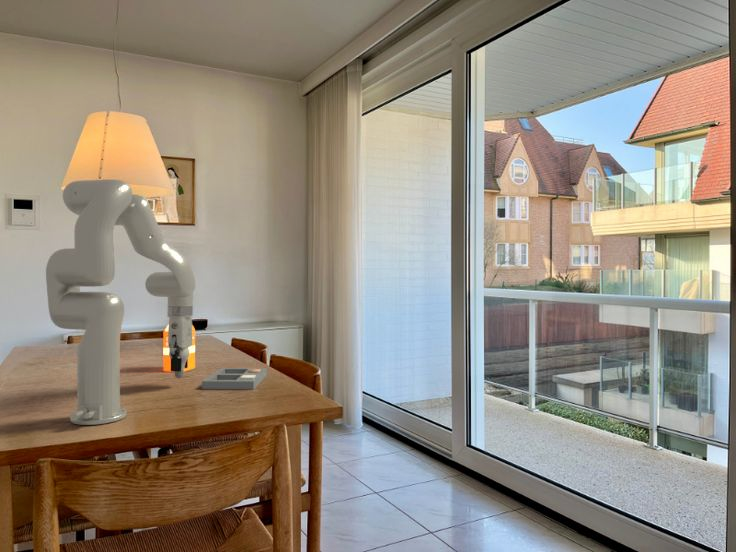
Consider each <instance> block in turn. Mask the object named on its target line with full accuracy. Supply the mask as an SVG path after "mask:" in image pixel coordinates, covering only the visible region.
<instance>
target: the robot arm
mask: <svg viewBox="0 0 736 552" xmlns="http://www.w3.org/2000/svg"><path fill="white" fill-rule="evenodd" d="M62 200H63V202H64V205H65V206H66V207H67V209H68V211H70V212H72V213H73V214H75V215H77V216H78V218H77V219H76V221H75V225H74V236H73V237H74V248H73V247H72V248H69V247H68V248H60V249H58V250H56V251H54V252H53V253H52V254H51V255H50V256H49V258H48V261H47V263H46V268H45V279H46V292H47V305H48V313H49V317H50V320H51V322H52V323H53V324H54V325H55V326H56V327H57V328H60V329H64V330H80V331H82V330H83V331H84V333H83V336H82V337H81V339H80V340H79V342H78V345H77V351H76V357H77V359H76V361H77V363H76V365H77V366H76V367H77V368H76V370H77V371H76V372H77V374H76V375H77V378H76V379H77V380H76V381H77V382H76V383H77V387H76V389H77V390H76V391H77V397H76V398H77V405H76V407H77V410H76V411H75V412H72V413H71V414H70V415H69V421H70V422H71V423H72V424H74V425H80V426H94V425H103V424H109V423H115V422H117V421H121V420H123V419H124V418H126V417H127V412H128V411H127V409H125V408H123V407H122V408H121V367H120V366H121V351H120V350H121V346H120V345H121V334H122V333H121V331H122V326H123V321H124V317H125V304H124V302H123V300H122V299H121V298H120V297H119V296H117V295H116V294H113V293H112V292H105V291H81V289H80V288H81V287H93V288H94V287H103V286H107V285H110V284H111V283H112V282H113V280H114V277H115V271H116V265H115V264H116V263H115V262H116V261H115V249H114V227H115V226H123V228H124V230H125V232H126V234H127V236H128V238H129V241H130V244H131V245H132V247H133V250H134V252H136V253H137V254H138V255H140V256H142V257H144V258H146V259H148V260H151V261H154V262H155V263H159V264H160V265H163V266H164V267H165V268H167V269H169V271H157V272H153V273H151V274H150V275H148V276H147V278H146V279H145V283H144V284H145V290H146V291H147V292H148V293H149V295H152V296H153V297H158V298H159V297H161V298H167V318H169V319H168V320H169V321H168V324H169V328H168V347H169V350H170V353H171V356H170V358H171V371H181V367H182V358H180V357H181V348H182V349H185V348H188V347H190V346H192V344H193V332H192V325H193V321H192V317H193V316H194V315H193V312H194V310H193V309H194V307H193V306H194V304H193V303H194V301H193V299H194V296H193V295H194V291H195V288H196V282H195V281H196V279H195V275H194V273H193V271H192V268H191V264H190V263H189V261H188V260H187V258H186V256H184V255H183V254H182V253H181V252H180V251H179V250H178V249H177V248H176V247H174V245H172V244H170V243H169V242H167V240H166V239H165V238H164V237H163V234H162V231H161V229H160V227H159V224H158V221H157V219H156V216H155V214H154V212H153V210H152V207H151V204H150V203H149V201H148V199H147V198H146V197H144V196H143V195H139V194H133V190H132V187H131V185H130V184H129V183H128V182H126V181H124V180H120V179H89V180H75V181H72V182H70V183H68V184H67V185H66V186H65V187H64V189H63V192H62ZM175 346H177V347H179V348H175ZM176 350H178V352H177V351H176ZM187 367H188V359H187V361H186V363H185V368H187Z"/></svg>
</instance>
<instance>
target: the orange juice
mask: <svg viewBox="0 0 736 552" xmlns="http://www.w3.org/2000/svg"><path fill="white" fill-rule="evenodd" d="M168 328H169V323H168V324H167V325H166V327H165V329H164V330H163V342H162V343H163V351H162V353H163V360H162V361H163V363H162V364H163V372H170V373H171V372H172V373H173V372H174V373H175V371H171V359H170V357H169V351H170V350H169V347H168ZM192 332H193V344H192V346H190V347H188V349H189V352H190V354H189V357H188V367H187V368H184V372H186V371H189V370H193V369H195V368H196V329H195V326H194V325H193V324H192Z"/></svg>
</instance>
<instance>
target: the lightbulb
mask: <svg viewBox="0 0 736 552" xmlns="http://www.w3.org/2000/svg"><path fill="white" fill-rule="evenodd" d="M175 348H179V347H177V346H175ZM176 351H177V352H178V350H176ZM189 354H190V352H189V349H188V348H185V349H182V348H181V357H180V358H182V367H181V371H175V372H174V376H175V378H177V379H181V378H183V377H184V372H185V371H184V368H185V363H186V361H187V359H188V357H189ZM170 356H171V353H170V351H169V357H170ZM170 359H171V358H170Z"/></svg>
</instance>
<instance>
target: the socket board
mask: <svg viewBox="0 0 736 552" xmlns="http://www.w3.org/2000/svg"><path fill="white" fill-rule="evenodd" d="M267 375H268V374H267V367H220V368H219V369H218V370H216V371H214V372H213V373H212V374H210V375H209V376H207V377H206V378H205V379H203V380H201V389H202V390H238V391H239V390H241V391H242V390H249V391H250V390H251V391H252V390H255V389H256V388H257V386H258V385H259V384H260V383H261V382H262V381H263V380H264V379H265V378H266V377H267Z"/></svg>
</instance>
